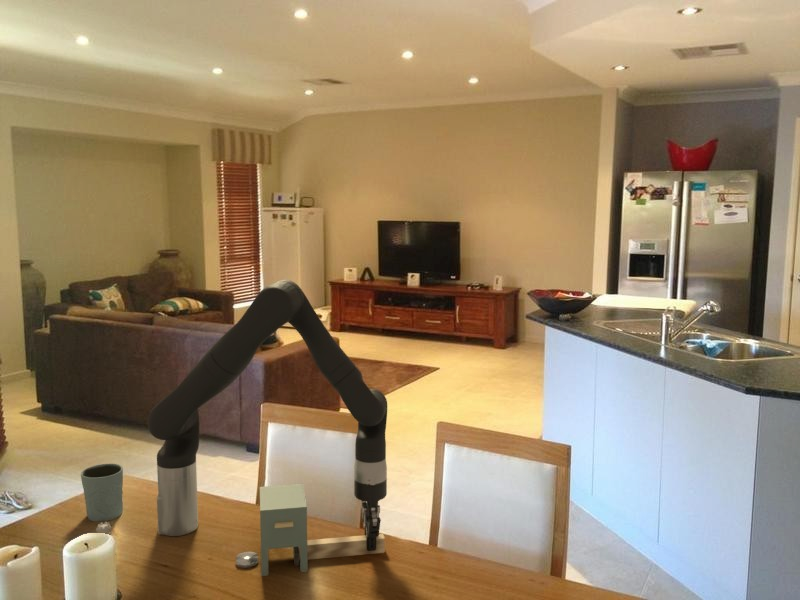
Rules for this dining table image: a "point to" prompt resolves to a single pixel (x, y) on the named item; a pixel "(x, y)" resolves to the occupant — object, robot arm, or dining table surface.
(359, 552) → the beige bar
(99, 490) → the grey green cup
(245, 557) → the steel token
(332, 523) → the dining table surface
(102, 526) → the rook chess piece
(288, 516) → the cabinet
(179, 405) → the robot arm
